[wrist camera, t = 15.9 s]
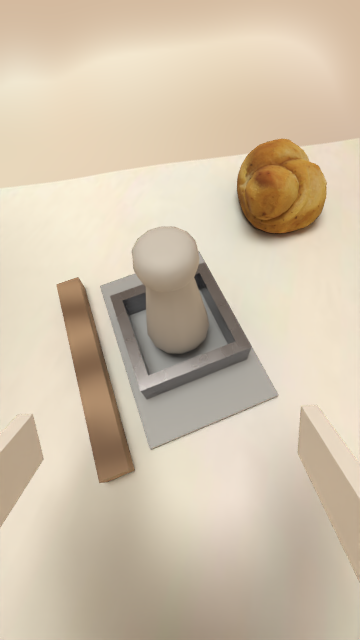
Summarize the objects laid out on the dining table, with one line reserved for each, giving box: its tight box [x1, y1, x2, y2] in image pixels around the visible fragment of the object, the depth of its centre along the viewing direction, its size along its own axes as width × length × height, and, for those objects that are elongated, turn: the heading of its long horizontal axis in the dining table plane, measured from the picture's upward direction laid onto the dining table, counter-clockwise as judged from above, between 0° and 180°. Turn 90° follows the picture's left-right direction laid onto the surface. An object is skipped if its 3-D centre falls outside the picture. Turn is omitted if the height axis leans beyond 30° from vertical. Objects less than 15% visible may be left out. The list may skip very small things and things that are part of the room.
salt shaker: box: [132, 227, 209, 354], centre depth 23 cm, size 6×6×13 cm
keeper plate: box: [100, 251, 278, 449], centre depth 28 cm, size 18×12×4 cm, turn 21°
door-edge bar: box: [57, 277, 134, 483], centre depth 28 cm, size 20×2×2 cm, turn 21°
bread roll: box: [237, 139, 327, 233], centre depth 34 cm, size 13×10×8 cm
